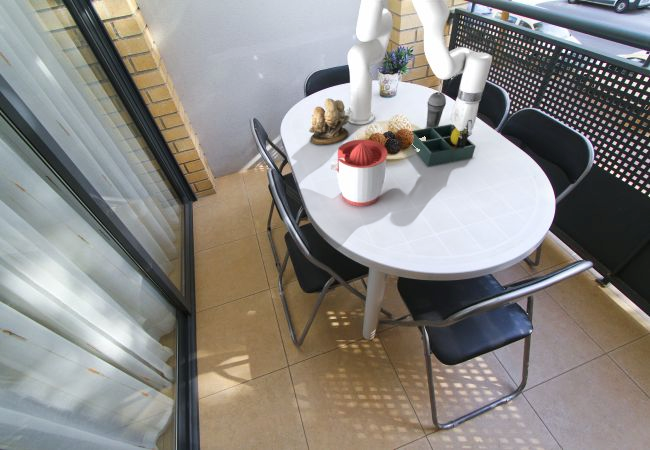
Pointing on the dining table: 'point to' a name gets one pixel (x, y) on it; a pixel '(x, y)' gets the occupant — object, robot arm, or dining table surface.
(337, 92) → the dining table surface
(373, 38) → the robot arm
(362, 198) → the citrus juicer
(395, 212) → the dining table surface
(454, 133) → the lemon
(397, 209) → the dining table surface
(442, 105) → the beverage cup
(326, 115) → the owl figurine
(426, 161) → the divided storage tray
